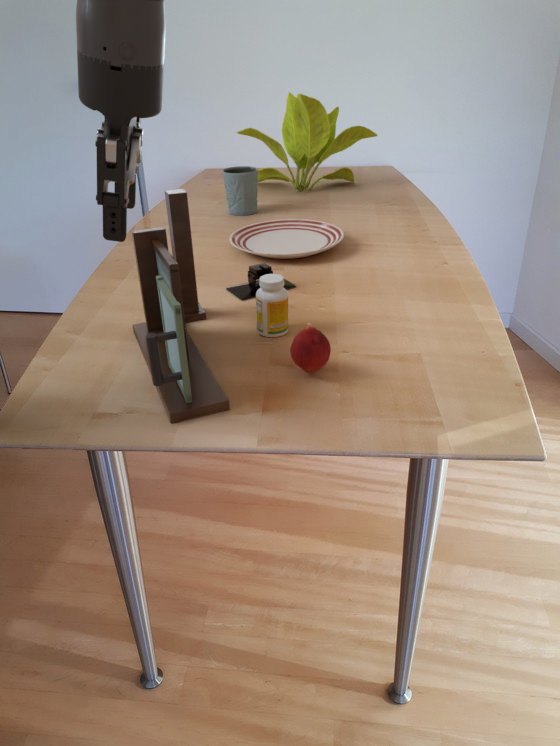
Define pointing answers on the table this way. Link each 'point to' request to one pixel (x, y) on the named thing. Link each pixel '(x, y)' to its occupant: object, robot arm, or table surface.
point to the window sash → (169, 343)
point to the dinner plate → (287, 238)
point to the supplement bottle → (272, 306)
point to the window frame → (202, 381)
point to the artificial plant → (308, 141)
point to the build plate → (254, 282)
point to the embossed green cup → (241, 189)
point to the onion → (310, 349)
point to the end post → (183, 252)
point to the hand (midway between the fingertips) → (120, 222)
